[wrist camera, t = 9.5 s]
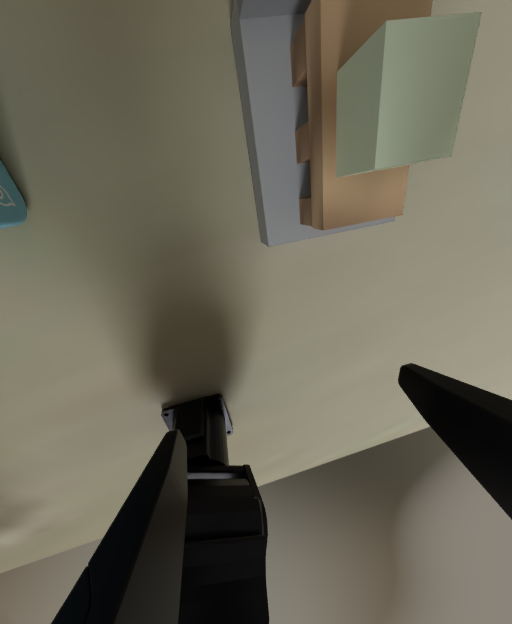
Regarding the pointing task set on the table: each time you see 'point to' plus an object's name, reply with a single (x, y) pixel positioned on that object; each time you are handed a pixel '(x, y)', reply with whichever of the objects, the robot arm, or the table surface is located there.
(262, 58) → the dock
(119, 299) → the table surface
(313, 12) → the brown cardboard box
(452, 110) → the pale green block
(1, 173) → the data package
